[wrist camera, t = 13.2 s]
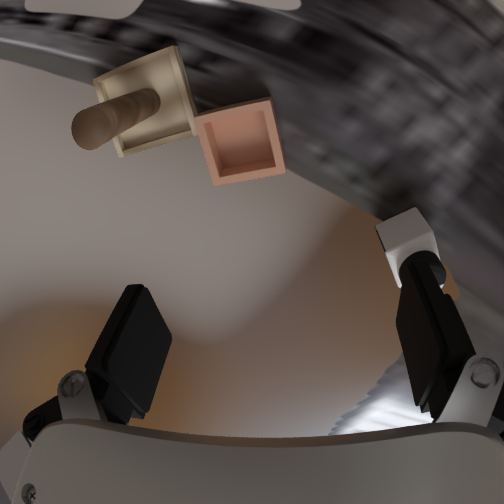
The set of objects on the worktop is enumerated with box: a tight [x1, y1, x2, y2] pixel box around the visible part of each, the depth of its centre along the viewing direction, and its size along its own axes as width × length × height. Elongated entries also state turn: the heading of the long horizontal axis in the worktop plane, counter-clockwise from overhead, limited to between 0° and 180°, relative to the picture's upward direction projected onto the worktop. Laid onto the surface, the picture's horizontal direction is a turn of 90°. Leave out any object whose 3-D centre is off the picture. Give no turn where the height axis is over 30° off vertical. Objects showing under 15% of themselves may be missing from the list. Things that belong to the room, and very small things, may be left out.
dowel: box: [71, 88, 161, 150], centre depth 30 cm, size 4×4×14 cm
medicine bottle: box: [375, 207, 446, 288], centre depth 39 cm, size 7×7×12 cm
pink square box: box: [193, 96, 286, 186], centre depth 37 cm, size 9×9×4 cm
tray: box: [93, 45, 198, 158], centre depth 36 cm, size 12×12×2 cm
